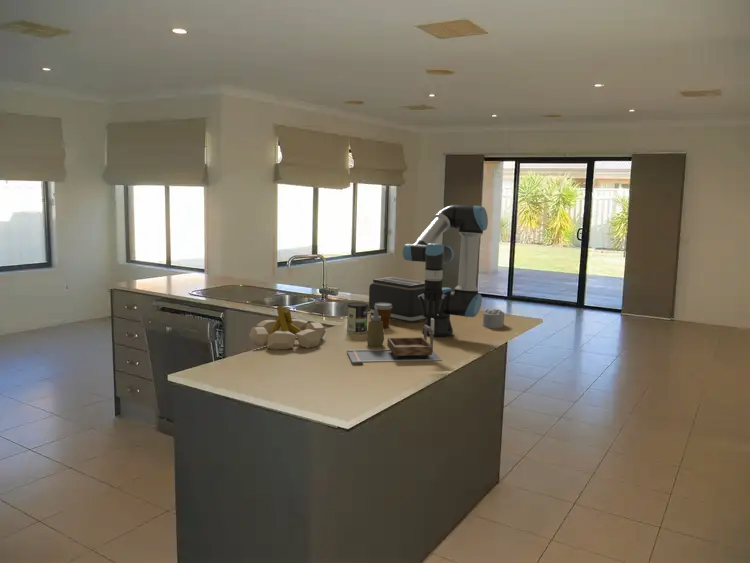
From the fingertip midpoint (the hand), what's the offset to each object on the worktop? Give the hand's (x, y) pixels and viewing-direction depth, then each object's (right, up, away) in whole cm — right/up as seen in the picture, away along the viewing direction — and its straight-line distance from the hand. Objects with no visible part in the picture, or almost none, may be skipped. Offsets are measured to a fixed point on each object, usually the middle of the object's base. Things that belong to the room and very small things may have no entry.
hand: (431, 333), depth 269 cm
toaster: (-11, +3, +85) cm, 86 cm away
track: (-16, -10, -1) cm, 19 cm away
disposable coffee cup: (-20, -1, +57) cm, 61 cm away
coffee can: (-33, -3, +45) cm, 56 cm away
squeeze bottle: (-24, -8, +16) cm, 30 cm away
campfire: (-65, -6, +23) cm, 69 cm away
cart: (-10, -9, 0) cm, 14 cm away
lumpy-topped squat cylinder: (+39, -2, +67) cm, 77 cm away
